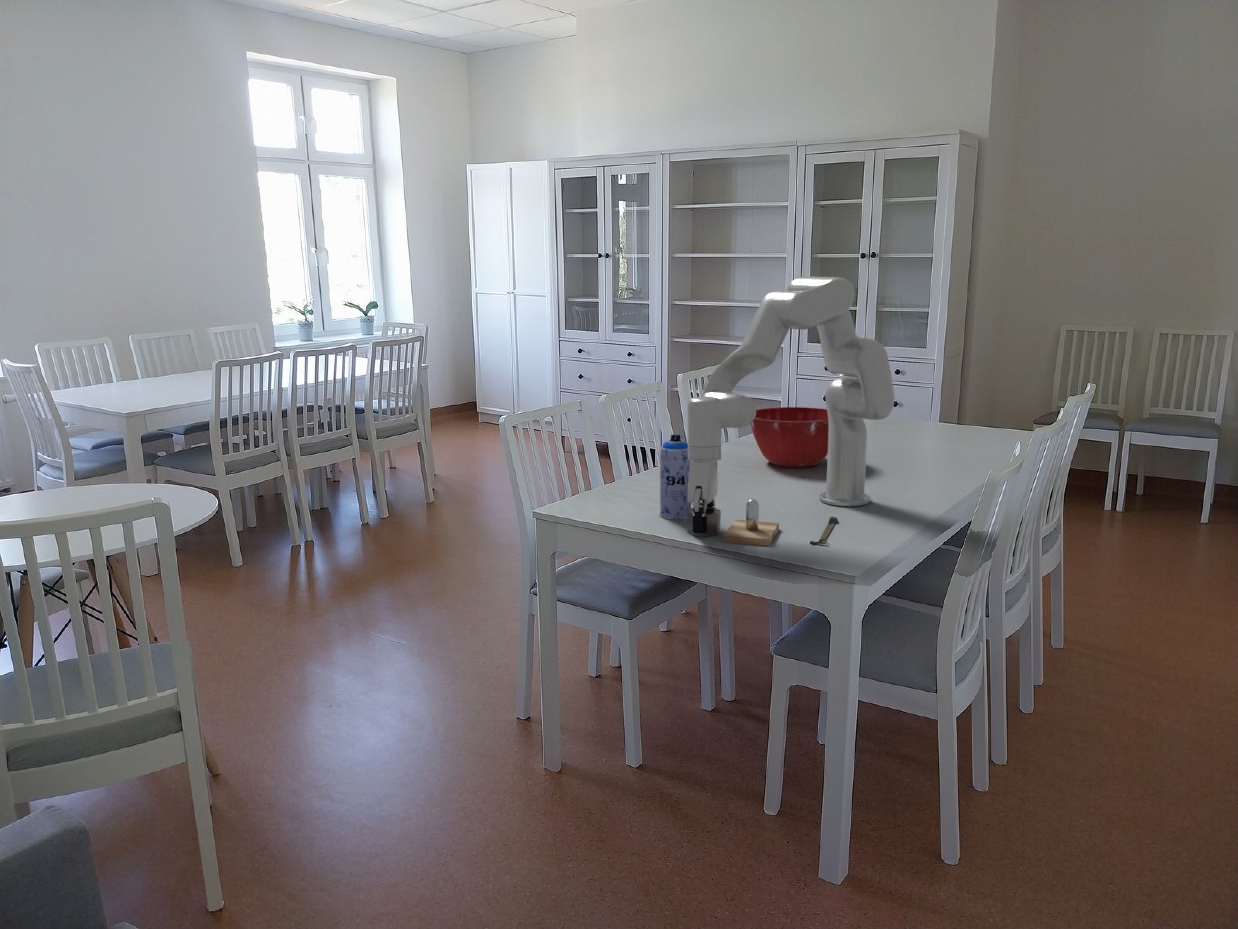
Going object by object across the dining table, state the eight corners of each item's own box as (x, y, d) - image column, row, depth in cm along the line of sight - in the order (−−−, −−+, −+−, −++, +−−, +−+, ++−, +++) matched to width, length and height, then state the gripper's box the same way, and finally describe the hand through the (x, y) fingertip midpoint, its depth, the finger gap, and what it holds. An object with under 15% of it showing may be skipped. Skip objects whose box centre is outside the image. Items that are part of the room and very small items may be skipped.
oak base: (735, 525, 213) (736, 519, 213) (778, 529, 210) (778, 523, 209) (723, 541, 201) (723, 535, 201) (769, 545, 198) (769, 539, 197)
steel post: (747, 526, 207) (747, 497, 205) (759, 527, 206) (759, 498, 204) (744, 530, 204) (745, 500, 203) (757, 531, 203) (757, 501, 202)
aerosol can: (659, 519, 219) (659, 437, 215) (659, 510, 227) (659, 431, 222) (692, 519, 219) (692, 437, 214) (691, 510, 226) (691, 431, 222)
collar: (692, 526, 213) (692, 505, 212) (722, 528, 211) (722, 508, 209) (685, 535, 206) (685, 513, 205) (715, 537, 204) (715, 516, 203)
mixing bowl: (731, 457, 286) (732, 409, 283) (811, 450, 295) (813, 403, 291) (773, 477, 260) (774, 423, 257) (860, 468, 269) (862, 417, 265)
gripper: (697, 443, 214) (697, 516, 217) (677, 459, 198) (678, 537, 201) (729, 445, 211) (728, 519, 215) (711, 461, 195) (711, 540, 199)
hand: (704, 527), depth 208 cm, fingers closed on collar, 7 cm apart
